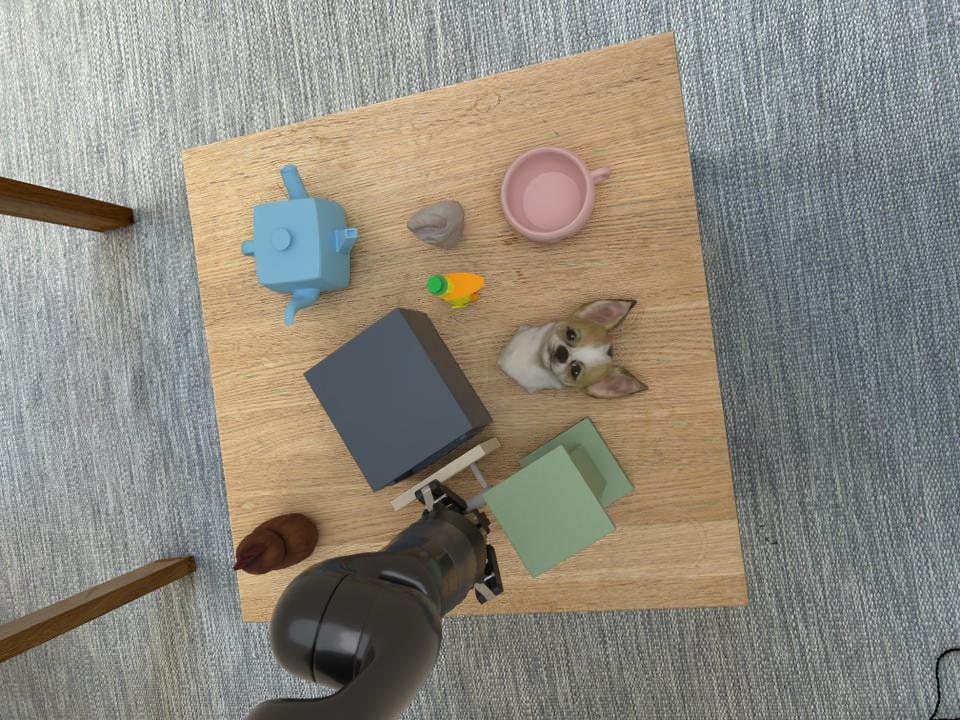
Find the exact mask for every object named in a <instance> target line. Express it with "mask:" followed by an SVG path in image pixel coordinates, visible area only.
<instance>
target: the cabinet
mask: <svg viewBox="0 0 960 720" xmlns="http://www.w3.org/2000/svg"><path fill="white" fill-rule="evenodd" d="M302 375H303V377H304V378H305V380H306V381H307V383H308V385H309V386H310V389H311V390H312V391H313V393H314V395H315V396H316V398H317V400H318V402H319V404H320V405H321V407H322V408H323V410H324V412H325V413H326V415H327V418H329V421H330V422H331V423H332V425H333V427H334V428H335V430H336V432H337V433H338V435H339V437H340V439H341V440H342V442H343V444H344V445H345V447H346V448H347V451H348V452H349V454H350V455H351V457H352V458H353V460H354V462H355V463H356V465H357V467H358V469H359V471H360V472H361V473H362V475H363V476H364V479H365V480H366V482H367V483H368V486H369V487H370V488H371V491H372V492H373V493H377V492H379V491H381V490H383V489H385V488H387V487H389V486H388V484H389V483H391V482H392V481H394V480H395V479H397V478H398V477H400V476H401V475H403V474H404V473H406V472H407V471H409V470H411V469H412V468H414V467H415V466H417V465H418V464H420V463H421V462H423V461H424V460H426V459H427V458H429V457H431V456H432V455H434V454H435V453H437V452H438V451H440V450H441V449H443V448H444V447H446V446H447V445H449V444H451V443H452V442H454V441H455V440H457V439H458V438H460V437H461V436H463V435H464V434H466V433H467V432H469V431H471V430H474V429H477V428H480V427H482V429H484V428H485V427H487V426H488V425H490V424H491V423H493V422H494V419H493V417H492V416H491V414H490V412H489V410H488V409H487V408H486V406H485V404H484V403H483V401H482V400H481V399H480V396H479V395H478V393H477V391H476V390H475V389H474V387H473V386H472V384H471V382H470V381H469V380H468V377H467V376H466V374H465V373H464V371H463V370H462V367H460V365H459V363H458V361H457V360H456V359H455V357H454V355H453V354H452V352H451V350H450V349H449V348H448V346H447V344H446V342H445V341H444V339H443V337H442V336H441V335H440V333H439V331H438V330H437V329H436V327H435V325H434V323H433V321H432V320H431V318H430V317H429V315H428V314H427V313H426V312H423V311H418V310H413V309H409V308H404V307H399V306H396V308H394V309H393V310H391V311H389V312H388V313H386V315H384V316H383V317H381V318H379V319H378V320H377V321H375V322H374V323H373V324H371V325H370V326H369V327H367V328H365V329H364V330H363V331H361V332H360V333H359V334H357V335H356V336H354V337H353V338H351V339H349V341H347V342H346V343H345V344H343V345H341V346H340V347H339V348H337V349H336V350H334V351H332V352H331V353H330V354H328V355H327V356H326V357H325V358H323V359H322V360H320V361H319V362H317V363H316V364H315V365H313V366H311V367H310V368H309V369H308V370H306V371H305V372H303V373H302Z"/></svg>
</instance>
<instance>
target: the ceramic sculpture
mask: <svg viewBox="0 0 960 720" xmlns="http://www.w3.org/2000/svg"><path fill="white" fill-rule="evenodd" d="M637 304H638V299H623V298H605V299H602V298H601V299H598V298H597V299H595V300H593V301H590V302H587V303H582V305H580V306H579V307H578V308H576V309H575V310H574V311H573V313H572V314H571V316H570V317H569V318H567V319H564V320H560V321H557V320H556V321H554V320H553V321H549V322H548V323H544V324H542V325H533V324H531V325H530V324H528V323H523V324H520V326H519V327H518V329H517V331H516V332H515V333H514V334H513V335H512V337H511V339H510V340H509V341H508V343H507V344H506V345H505V346H504V347H503V349H502V350H501V352H500V354H499V356H498V357H497V359H496V366H497V367H498V368H499V369H500V370H501V371H502V372H503V373H504V374H505V375H506V376H508V377H509V378H510V379H512V380H513V381H514V382H516V383H517V385H519V386H520V387H521V388H522V389H523V390H525V392H526V393H528V394H529V395H535V394H538V393H539V392H541V391H543V390H547V389H549V390H550V389H551V390H558V391H561V390H566V389H570V388H571V389H579V390H580V391H581V392H583V394H585V395H586V396H589V397H591V398H593V399H594V400H600V399H601V400H608V401H613V400H615V399H621V398H624V397H628V396H629V397H630V396H632V395H635V394H637V393H642V392H646V391H649V389H650V387H649V386H648V385H647V384H645V383H644V382H642V381H640V380H639V379H638V378H637V377H636V376H635V375H634V374H632V372H631V371H630V370H629V369H627V368H624V367H617V366H612V364H613V359H614V347H613V343H612V340H611V337H610V334H609V331H611V330H614V329H618V328H619V327H620V326H621V325H623V323H624V322H625V320H626V319H627V316H629V314H630V312H631V311H632V309H633V308H635V307H636V305H637Z"/></svg>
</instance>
